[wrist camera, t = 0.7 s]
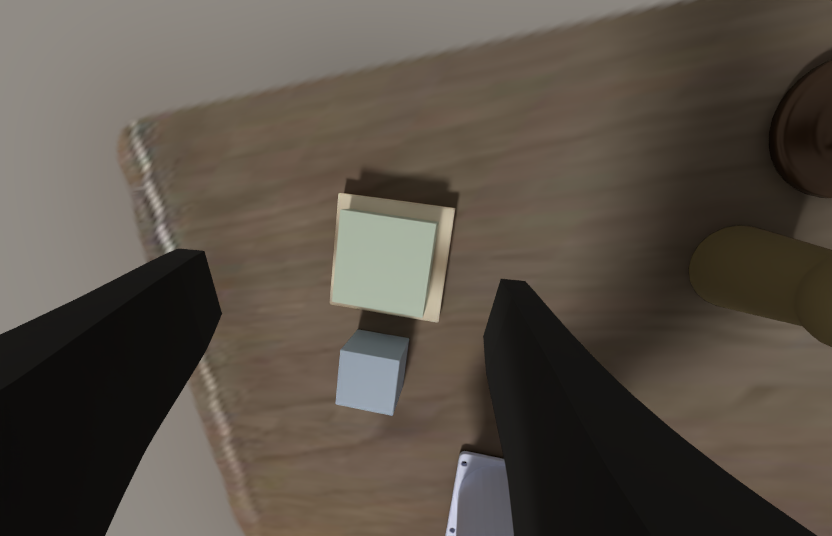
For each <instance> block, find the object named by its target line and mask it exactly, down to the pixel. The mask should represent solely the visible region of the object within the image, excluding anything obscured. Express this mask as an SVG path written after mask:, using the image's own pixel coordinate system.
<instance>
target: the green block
mask: <svg viewBox="0 0 832 536" xmlns="http://www.w3.org/2000/svg"><path fill="white" fill-rule="evenodd" d="M438 223H439V222H437V221H430V220H423V219H417V218H410V217H403V216H396V215H390V214H383V213H376V212H370V211H363V210H356V209H341V210H340V218H339V229H338V240H337V251H336V262H335V273H334V285H333V296H332V302H336V303H342V304H347V305H353V306H358V307H364V308H370V309H375V310H381V311H386V312H392V313H397V314H403V315H409V316H414V317H420V318H423V315H424V313H425V310H426V304H427V297H428V290H429V283H430V277H431V270H432V263H433V256H434V250H435V243H436V236H437V229H438Z"/></svg>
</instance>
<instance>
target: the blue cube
mask: <svg viewBox="0 0 832 536" xmlns="http://www.w3.org/2000/svg"><path fill="white" fill-rule="evenodd" d="M408 344H409V338H405V337H399V336H393V335H388V334H382V333H376V332H371V331H365V330H359V329H358V330H357V331H356V332H355V333H354V335H353V336H352V337H351V338H350V339H349V340H348V342H347V343H346V344H345V345H344V346H343V348H342V349H341V350H340V361H339V372H338V383H337V394H336V404H337V405H342V406H347V407H352V408H357V409H362V410H367V411H372V412H377V413H382V414H387V415H392V416H393V413H394V411H395V408H396V405H397V402H398V399H399V396H400V393H401V390H402V388H403V382H404V374H405V367H406V359H407V352H408Z"/></svg>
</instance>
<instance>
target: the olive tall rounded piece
mask: <svg viewBox="0 0 832 536" xmlns="http://www.w3.org/2000/svg"><path fill="white" fill-rule="evenodd" d="M689 276H690V282H691V284H692V286H693V288H694V290H695V292H696V293H697V294H698V295H699V296H700V297H702V298H703V299H704V300H705V301H707V302H709V303H712V304H714V305H716V306H720V307H724V308H728V309H732V310H736V311H741V312H745V313H749V314H753V315H757V316H762V317H766V318H770V319H774V320H778V321H783V322H787V323H791V324H795V325H799V326H803V327H804V328H805V329H806V330H807V331H808V332H809V333H810V334H811V335H812V336H813V337H815V338H816V339H817V340H818V341H820V342H822V343H824V344H826V345H828V346H830V347H832V250H830V249H827V248H823V247H820V246H817V245H813V244H810V243H807V242H803V241H800V240H796V239H793V238H790V237H786V236H783V235H780V234H776V233H773V232H770V231H766V230H763V229H759V228H756V227H751V226H741V225H738V226H732V227H727V228H723V229H721V230H719V231H717V232H715V233H713V234H710V235H709V236H708V237H707V238H706V239H705V240H704V241H702V242H701V243H700V244H699V246H698V247H697V249H696V250H695V252H694V253H693V255H692V258H691V262H690V266H689Z"/></svg>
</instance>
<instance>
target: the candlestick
mask: <svg viewBox="0 0 832 536" xmlns="http://www.w3.org/2000/svg"><path fill="white" fill-rule="evenodd" d="M769 149H770V154H771V159H772V161H773V163H774V166H775V168H776V170H777V171H778V173H779V174H780V175H781V176H782V178H783V179H784V180H785V181H786V182H787V183H789V184H790V185H791V186H792V187H794V188H795V189H797V190H799V191H801V192H803V193H805V194H808V195H812V196H816V197H820V198H832V60H830V61H827V62H825V63H823V64H822V65H820V66H818V67H816V68H814V69H812V70H811V71H810V72H808V73H807V74H806V75H805V76H803V77H802V78H801V79H799V80H798V81H797V82H796V83H795V84H794V86H793V87H792V88H791V89H790V90H789V91H788V92H787V93H786V95H785V96H784V98H783V99H782V101H781V102H780V104H779V105H778V108H777V110H776V112H775V114H774V117H773V119H772V123H771V127H770V132H769Z"/></svg>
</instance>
